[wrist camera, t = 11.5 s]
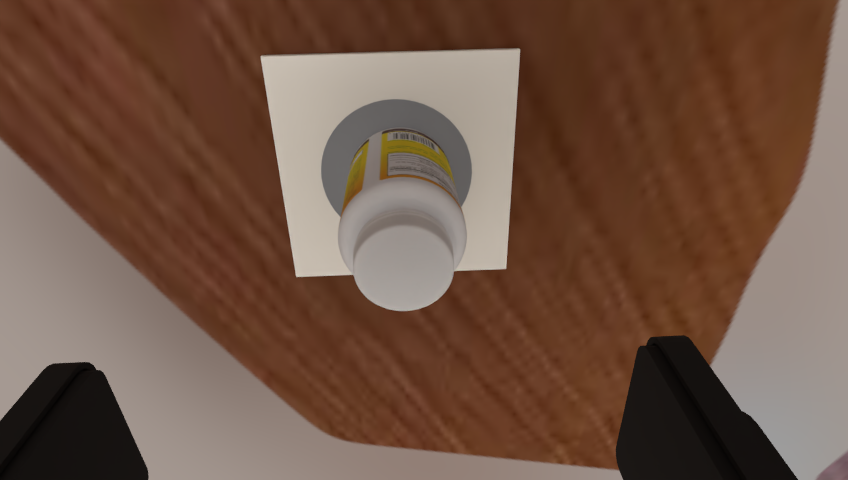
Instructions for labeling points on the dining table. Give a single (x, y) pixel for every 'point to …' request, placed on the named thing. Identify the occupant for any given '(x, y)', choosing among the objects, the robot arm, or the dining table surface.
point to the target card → (383, 109)
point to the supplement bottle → (401, 220)
